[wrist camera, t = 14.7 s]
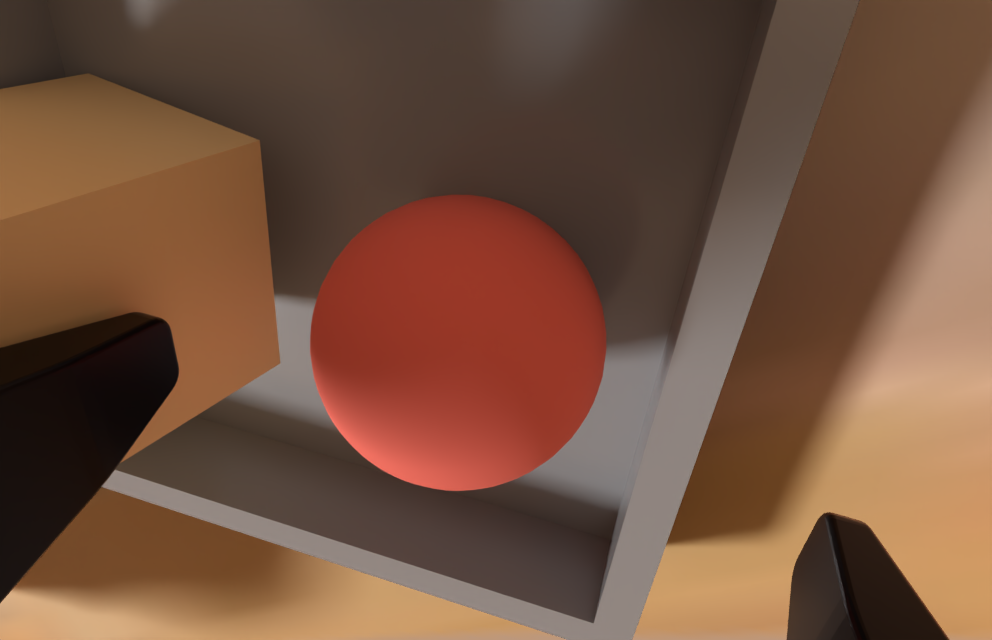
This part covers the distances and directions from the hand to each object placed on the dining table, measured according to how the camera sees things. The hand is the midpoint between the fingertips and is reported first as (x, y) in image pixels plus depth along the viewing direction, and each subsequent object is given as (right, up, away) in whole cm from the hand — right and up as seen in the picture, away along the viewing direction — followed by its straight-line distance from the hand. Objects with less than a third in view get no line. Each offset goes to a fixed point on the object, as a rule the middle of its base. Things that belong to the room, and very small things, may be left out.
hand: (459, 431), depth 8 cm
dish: (-2, +3, +4) cm, 5 cm away
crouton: (-5, +3, +3) cm, 7 cm away
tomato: (0, +2, +3) cm, 4 cm away
